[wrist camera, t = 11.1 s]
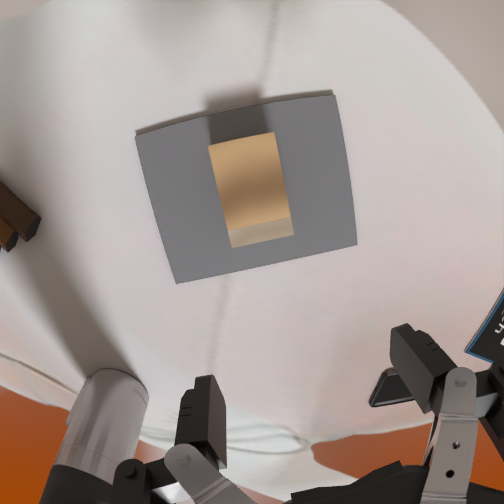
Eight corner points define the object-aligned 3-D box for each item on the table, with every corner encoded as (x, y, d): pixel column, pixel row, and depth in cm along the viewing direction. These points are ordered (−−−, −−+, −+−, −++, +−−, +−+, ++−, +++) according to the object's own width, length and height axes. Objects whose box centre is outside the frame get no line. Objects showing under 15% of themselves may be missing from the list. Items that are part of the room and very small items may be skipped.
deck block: (211, 146, 27) (207, 146, 23) (268, 134, 27) (274, 131, 23) (232, 234, 30) (232, 248, 26) (286, 223, 30) (294, 234, 26)
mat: (177, 281, 32) (176, 284, 31) (136, 136, 26) (134, 136, 26) (355, 243, 31) (357, 244, 31) (333, 95, 26) (335, 94, 25)
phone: (434, 395, 42) (368, 408, 41) (432, 391, 43) (366, 403, 42) (453, 363, 39) (385, 374, 38) (449, 359, 41) (382, 369, 39)
